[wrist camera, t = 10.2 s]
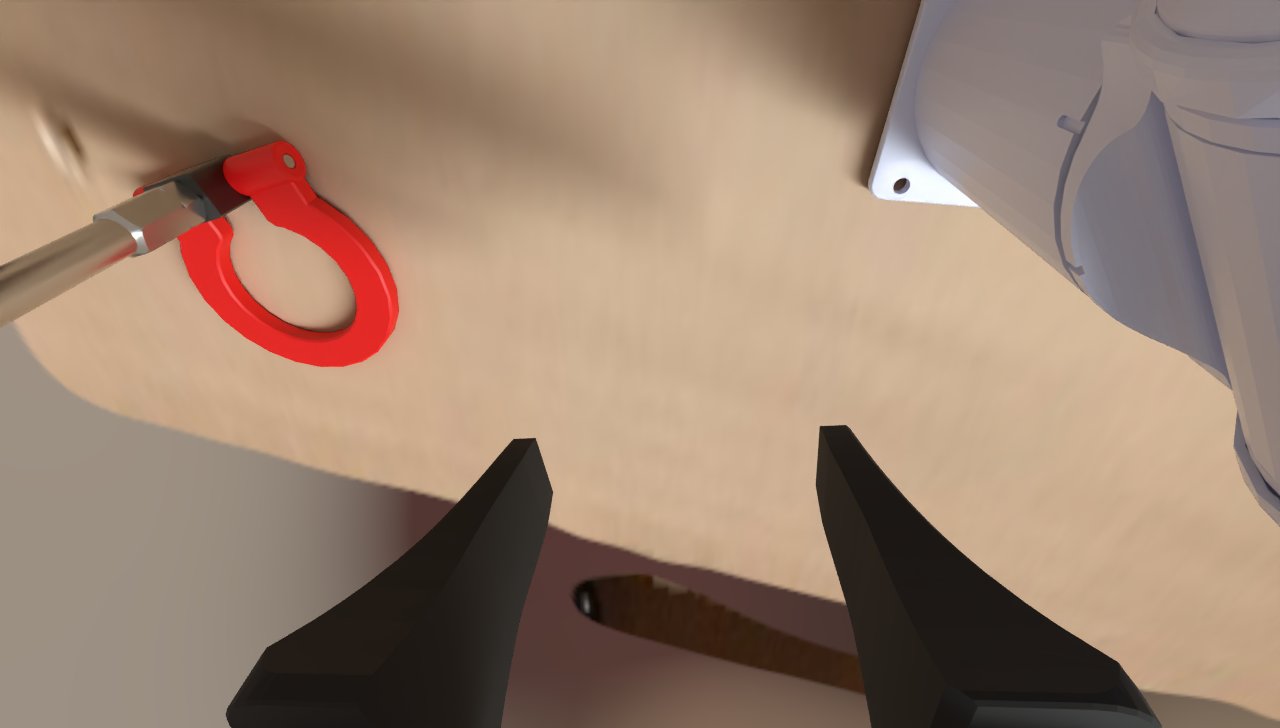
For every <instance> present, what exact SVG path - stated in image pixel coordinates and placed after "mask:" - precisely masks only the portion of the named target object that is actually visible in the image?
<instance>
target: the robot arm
mask: <svg viewBox="0 0 1280 728" xmlns="http://www.w3.org/2000/svg"><path fill="white" fill-rule="evenodd" d="M901 178H906V179H907V180H906V184H905V186H904V187H903V188H902V189H900V190H893V185H894V184H895V182H896V181H897V180H899V179H901ZM868 188H869V191H870V192H871V194H872V195H873V196H875V197H876V198H878V199H883V200H895V201H907V202H919V203H931V204H943V205H955V206H967V207H979V208H981V209H983V210H984V211H985V212H986V213H987V214H989V215H990V216H991V217H992V218H994V219H995V220H996V221H997V222H998V223H1000V224H1001V225H1002V226H1003V227H1004V228H1006V229H1007V230H1008V231H1009V232H1011V233H1012V234H1013V235H1014V236H1015V237H1017V238H1018V239H1019V240H1020V241H1021V242H1023V243H1024V244H1025V245H1026V246H1028V247H1029V248H1030V249H1031V250H1032V251H1034V252H1035V253H1036V254H1037V255H1038V256H1040V257H1041V258H1042V259H1043V260H1044V261H1046V262H1047V263H1048V264H1049V265H1051V266H1052V267H1053V268H1054V269H1055V270H1057V271H1058V272H1059V273H1060V274H1061V275H1063V276H1064V277H1065V278H1066V279H1068V280H1069V281H1070V282H1071V283H1072V284H1074V285H1075V286H1076V287H1077V288H1078V289H1080V290H1081V291H1082V292H1083V293H1085V294H1086V295H1087V296H1088V297H1089V298H1090V299H1091V300H1092V301H1093V302H1094V303H1096V304H1097V305H1098V306H1099V307H1100V308H1102V309H1103V310H1104V311H1105V312H1107V313H1108V314H1109V315H1110V316H1112V317H1113V318H1114V319H1116V320H1117V321H1119V322H1121V323H1122V324H1124V325H1126V326H1127V327H1129V328H1131V329H1133V330H1135V331H1137V332H1139V333H1141V334H1143V335H1145V336H1147V337H1149V338H1152V339H1154V340H1156V341H1158V342H1161V343H1163V344H1165V345H1167V346H1170V347H1172V348H1174V349H1176V350H1179V351H1181V352H1183V353H1185V354H1187V355H1188V356H1189V357H1190V358H1191V359H1192V360H1193V361H1195V362H1196V363H1197V364H1198V365H1200V366H1201V367H1202V368H1204V369H1205V370H1206V371H1207V372H1209V373H1210V374H1211V375H1212V376H1214V377H1215V378H1216V379H1218V380H1219V381H1220V382H1221V383H1223V384H1224V385H1225V386H1227V387H1228V388H1229V389H1230V390H1232V391H1233V394H1234V398H1235V402H1236V406H1237V418H1236V427H1235V436H1234V445H1233V446H1234V450H1235V454H1236V458H1237V461H1238V464H1239V467H1240V470H1241V473H1242V476H1243V479H1244V481H1245V483H1246V485H1247V486H1248V488H1249V490H1250V491H1251V493H1252V494H1253V496H1254V497H1255V499H1256V500H1257V502H1258V504H1259V505H1260V507H1261V508H1262V509H1263V510H1264V511H1265V512H1266V513H1267V514H1268V515H1269V516H1270V517H1271V518H1272V519H1273V520H1274V521H1275V522H1276V523H1277V524H1278V525H1279V527H1280V0H922V1H921V4H920V8H919V11H918V14H917V18H916V21H915V25H914V28H913V31H912V35H911V38H910V41H909V45H908V48H907V52H906V55H905V58H904V62H903V65H902V69H901V72H900V75H899V79H898V82H897V85H896V89H895V92H894V96H893V99H892V102H891V106H890V109H889V113H888V116H887V119H886V123H885V126H884V130H883V133H882V136H881V140H880V143H879V146H878V150H877V153H876V157H875V160H874V163H873V167H872V170H871V174H870V177H869V180H868ZM816 489H817V495H818V501H819V507H820V512H821V518H822V523H823V527H824V530H825V534H826V537H827V541H828V544H829V547H830V551H831V554H832V558H833V561H834V564H835V567H836V571H837V574H838V577H839V581H840V584H841V587H842V591H843V594H844V597H845V601H846V604H847V607H848V611H849V615H850V619H851V623H852V627H853V631H854V637H855V642H856V647H857V652H858V657H859V662H860V667H861V672H862V677H863V683H864V688H865V694H866V699H867V704H868V710H869V714H870V721H871V727H872V728H1162V725H1161V724H1160V722H1159V720H1158V719H1157V717H1156V716H1155V714H1154V712H1153V711H1152V709H1151V708H1150V706H1149V704H1148V703H1147V701H1146V700H1145V698H1144V697H1143V695H1142V694H1141V692H1140V691H1139V689H1138V688H1137V686H1136V685H1135V684H1134V683H1133V681H1132V680H1131V679H1130V677H1129V676H1128V675H1127V674H1126V672H1125V671H1124V670H1123V668H1122V667H1121V665H1120V664H1119V663H1118V662H1117V661H1115V660H1113V659H1112V658H1110V657H1109V656H1107V655H1105V654H1104V653H1102V652H1101V651H1099V650H1097V649H1096V648H1094V647H1092V646H1091V645H1089V644H1088V643H1086V642H1084V641H1083V640H1081V639H1079V638H1078V637H1076V636H1075V635H1073V634H1071V633H1070V632H1068V631H1066V630H1065V629H1063V628H1062V627H1060V626H1059V625H1057V624H1056V623H1054V622H1053V621H1051V620H1050V619H1048V618H1047V617H1045V616H1044V615H1042V614H1041V613H1039V612H1038V611H1037V610H1035V609H1034V608H1032V607H1031V606H1029V605H1028V604H1026V603H1025V602H1024V601H1022V600H1021V599H1020V598H1018V597H1017V596H1016V595H1014V594H1013V593H1012V592H1010V591H1009V590H1008V589H1006V588H1005V587H1004V586H1002V585H1001V584H1000V583H999V582H997V581H996V580H995V579H993V578H992V577H991V576H989V575H988V574H987V573H985V572H984V571H983V570H982V569H981V568H979V567H978V566H977V565H976V564H975V563H973V562H972V561H971V560H970V559H969V558H968V557H966V556H965V555H964V554H963V553H962V552H961V551H959V550H958V549H957V548H956V547H955V546H954V545H953V544H952V543H950V542H949V541H948V540H947V539H946V538H945V537H944V536H943V535H942V534H941V533H940V532H939V531H938V530H936V529H935V528H934V527H933V526H932V525H931V524H930V523H929V522H928V521H927V520H926V519H925V518H924V517H923V516H922V515H921V513H920V512H919V511H918V510H917V509H916V508H915V507H914V506H913V505H912V504H911V503H910V502H909V501H908V500H907V499H906V498H905V497H904V495H903V494H902V493H901V492H900V491H899V490H898V489H897V487H896V486H895V485H894V484H893V483H892V482H891V481H890V479H889V478H888V477H887V476H886V475H885V474H884V472H883V471H882V470H881V469H880V468H879V466H878V465H877V464H876V463H875V461H874V460H873V459H872V458H871V456H870V455H869V454H868V452H867V451H866V450H865V448H864V447H863V446H862V444H861V443H860V442H859V440H858V439H857V438H856V436H855V435H854V433H853V432H852V430H851V429H850V428H849V427H848V426H846V425H838V426H820V432H819V446H818V460H817V475H816ZM552 495H553V490H552V487H551V484H550V481H549V478H548V475H547V472H546V469H545V466H544V463H543V459H542V456H541V453H540V450H539V447H538V444H537V441H536V438H527V439H513V440H512V441H511V443H510V444H509V445H508V446H507V447H506V448H505V449H504V451H503V452H502V453H501V454H500V455H499V456H498V457H497V459H496V460H495V461H494V462H493V463H492V465H491V466H490V467H489V468H488V469H487V470H486V472H485V473H484V474H483V475H482V476H481V477H480V478H479V480H478V481H477V482H476V483H475V484H474V485H473V486H472V487H471V489H470V490H469V491H468V492H467V493H466V494H465V495H464V496H463V498H462V499H461V500H460V501H459V502H458V503H457V504H456V505H455V506H454V507H453V508H452V509H451V510H450V511H449V512H448V513H447V514H446V515H445V517H444V518H442V520H441V521H440V522H439V523H438V524H437V525H436V526H435V527H434V528H433V529H432V530H430V531H429V532H428V533H427V534H426V535H425V536H424V537H423V538H422V539H421V540H420V541H419V542H418V543H416V544H415V545H414V546H413V547H412V548H411V549H409V551H407V552H406V553H405V554H404V555H403V556H401V557H400V558H399V559H398V560H397V561H395V562H394V563H393V564H392V565H390V566H389V567H388V568H386V569H385V570H384V571H383V572H381V573H380V574H379V575H378V576H376V577H375V578H374V579H372V580H371V581H370V582H368V583H367V584H366V585H365V586H363V587H362V588H360V589H359V590H358V591H356V592H355V593H353V594H352V595H351V596H349V597H348V598H346V599H345V600H343V601H342V602H340V603H339V604H338V605H336V606H334V607H333V608H332V609H330V610H328V611H327V612H326V613H324V614H322V615H321V616H319V617H318V618H316V619H315V620H313V621H311V622H310V623H308V624H306V625H305V626H303V627H301V628H300V629H298V630H296V631H294V632H293V633H291V634H289V635H288V636H286V637H285V638H283V639H281V640H279V641H278V642H276V643H274V644H272V645H271V646H269V647H267V648H266V650H265V651H264V653H263V654H262V655H261V657H260V659H259V660H258V662H257V663H256V665H255V666H254V668H253V669H252V671H251V673H250V674H249V676H248V677H247V679H246V680H245V682H244V683H243V685H242V686H241V688H240V689H239V691H238V693H237V694H236V696H235V697H234V699H233V700H232V702H231V703H230V705H229V706H228V708H227V712H226V717H227V720H228V723H229V725H230V727H231V728H501V722H502V715H503V708H504V702H505V696H506V690H507V685H508V679H509V673H510V667H511V661H512V657H513V652H514V646H515V641H516V637H517V631H518V626H519V622H520V618H521V614H522V610H523V607H524V603H525V600H526V597H527V593H528V590H529V587H530V584H531V580H532V577H533V574H534V571H535V567H536V564H537V561H538V557H539V554H540V551H541V547H542V544H543V540H544V537H545V533H546V530H547V526H548V520H549V515H550V508H551V502H552Z"/></svg>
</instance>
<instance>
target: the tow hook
mask: <svg viewBox="0 0 1280 728" xmlns="http://www.w3.org/2000/svg"><path fill="white" fill-rule="evenodd" d="M305 175H306V166H305V163H304V160H303V158H302V156H301V155H300V153H299V152H298V151H297V150H296V149H295V148H294V147H293V146H292V145H291V144H289V143H287V142H285V141H277V142H274V143H271V144H268V145H265V146H262V147H259V148H256V149H253V150H250V151H247V152H244V153H241V154H238V155H235V156H232V155H227V156H223V157H220V158H217V159H214V160H211V161H208V162H205V163H202V164H199V165H196V166H193V167H190V168H187V169H184V170H182V171H180V172H177V173H175V174H173V175H171V176H169V177H166V178H164V179H162V180H160V181H157V182H155V183H152V184H149V185H146V186H143V187H140V188H138V189H136V190H135V192H134V193H133V197H132V198H130V199H128V200H126V201H124V202H121V203H119V204H117V205H115V206H113V207H111V208H108V209H106V210H104V211H102V212H100V213H97V214H95V215H94V216H93V223H91V224H89V225H87V226H85V227H83V228H81V229H78V230H76V231H74V232H72V233H70V234H68V235H66V236H63V237H61V238H59V239H57V240H55V241H53V242H51V243H49V244H46V245H44V246H42V247H40V248H38V249H36V250H34V251H32V252H29V253H27V254H25V255H23V256H21V257H19V258H17V259H14V260H12V261H10V262H8V263H6V264H4V265H2V266H0V328H1V327H3V326H4V325H6V324H8V323H10V322H12V321H14V320H15V319H17V318H19V317H21V316H23V315H24V314H26V313H28V312H30V311H32V310H33V309H35V308H37V307H39V306H41V305H42V304H44V303H46V302H48V301H49V300H51V299H53V298H55V297H57V296H58V295H60V294H62V293H64V292H66V291H67V290H69V289H71V288H73V287H75V286H76V285H78V284H80V283H82V282H84V281H85V280H87V279H89V278H91V277H93V276H94V275H96V274H98V273H100V272H102V271H103V270H105V269H107V268H109V267H110V266H112V265H114V264H116V263H118V262H119V261H121V260H123V259H125V258H127V257H132V258H133V257H137V256H140V255H144V254H147V253H149V252H151V251H153V250H155V249H157V248H159V247H160V246H162V245H164V244H166V243H167V242H169V241H171V240H173V239H174V238H176V237H177V238H178V240H179V241H180V247H181V254H182V257H183V260H184V263H185V265H186V268H187V271H188V273H189V276H190V278H191V279H192V281H193V282H194V284H195V286H196V287H197V289H198V290H199V292H200V293H201V295H202V296H203V298H204V300H205V301H206V302H207V303H208V304H209V305H210V306H211V307H212V308H213V309H214V310H215V311H216V313H217V314H218V315H219V316H220V317H221V318H222V319H223V320H224V321H225V322H226V323H228V324H229V325H230V326H232V327H233V328H234V329H235V330H237V331H238V332H239V333H240V334H242V335H243V336H244V337H245V338H247V339H249V340H250V341H252V342H254V343H256V344H257V345H259V346H261V347H263V348H264V349H266V350H268V351H270V352H272V353H274V354H277V355H280V356H282V357H285V358H287V359H290V360H293V361H295V362H299V363H304V364H309V365H314V366H319V367H344V366H348V365H351V364H355V363H359V362H363V361H364V360H366V359H367V358H369V357H371V356H372V355H374V354H375V353H377V352H378V351H379V350H380V348H381V347H382V346H383V345H384V343H385V342H386V340H387V339H388V338H389V336H390V335H391V334H392V332H393V331H394V329H395V325H396V321H397V317H398V313H399V306H398V296H397V288H396V286H395V283H394V280H393V278H392V275H391V273H390V270H389V268H388V265H387V264H386V262H385V261H384V259H383V258H382V256H381V255H380V253H379V252H378V250H377V249H376V247H375V246H374V244H373V243H372V241H371V240H370V239H369V238H368V237H367V236H366V235H365V234H364V233H363V232H362V231H361V230H360V229H359V228H358V227H357V226H356V225H355V224H354V223H353V222H352V221H351V220H350V219H349V218H347V217H346V216H345V215H343V214H342V213H340V212H339V211H337V210H336V209H334V208H333V207H332V206H330V205H329V204H327V203H326V202H324V201H323V200H321V199H320V198H317V196H316V195H315V193H314V192H313V190H312V189H311V187H310V186H309V184H308V183H307V181H306V180H305V178H304V177H305ZM250 200H253V201H254V202H255V204H256V205H257V206H258V208H259V209H260V211H261V212H262V213H263V215H264V216H265V217H266V219H267V220H268V221H269V222H270V223H272V224H274V225H275V226H278V227H283V228H286V229H288V230H291V231H293V232H295V233H298V234H300V235H302V236H304V237H306V238H307V239H309V240H310V241H312V242H313V243H315V244H316V245H318V246H319V247H321V248H322V249H323V250H324V251H325V252H326V253H327V254H328V255H329V256H331V257H332V258H333V259H334V260H335V261H336V262H337V264H338V265H339V266H340V268H341V269H342V270H343V272H344V273H345V274H346V276H347V277H348V279H349V282H350V284H351V286H352V288H353V290H354V293H355V299H356V305H357V309H356V315H355V320H354V322H353V323H352V325H350V326H349V327H347V328H346V329H343V330H339V331H336V332H323V333H318V332H313V331H308V330H303V329H300V328H297V327H295V326H292V325H290V324H287V323H285V322H283V321H282V320H280V319H278V318H277V317H275V316H273V315H272V314H270V313H269V312H267V311H266V310H265V309H264V308H263V307H261V306H260V305H259V304H258V303H257V302H255V301H254V299H253V298H252V297H251V296H250V295H249V294H248V293H247V291H246V290H245V289H244V288H243V286H242V285H241V283H240V281H239V280H238V278H237V276H236V274H235V273H234V269H233V266H232V263H231V260H230V243H231V240H232V238H233V235H234V234H233V230H232V227H231V226H230V225H229V224H228V222H227V221H226V220H225V218H224V217H223V216H224V215H226V214H228V213H229V212H231V211H233V210H235V209H236V208H238V207H240V206H241V205H243V204H245V203H247V202H248V201H250Z"/></svg>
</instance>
